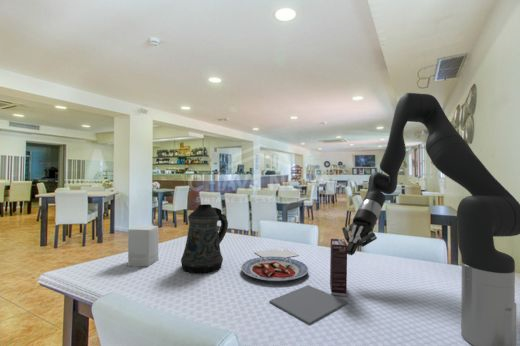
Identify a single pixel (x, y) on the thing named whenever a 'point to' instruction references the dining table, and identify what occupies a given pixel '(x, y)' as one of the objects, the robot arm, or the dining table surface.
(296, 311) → the charcoal mat
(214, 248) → the beer stein
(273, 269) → the ceramic plate
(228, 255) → the dining table surface
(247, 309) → the dining table surface
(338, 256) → the supplement box
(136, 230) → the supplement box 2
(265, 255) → the paper stack
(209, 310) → the dining table surface
